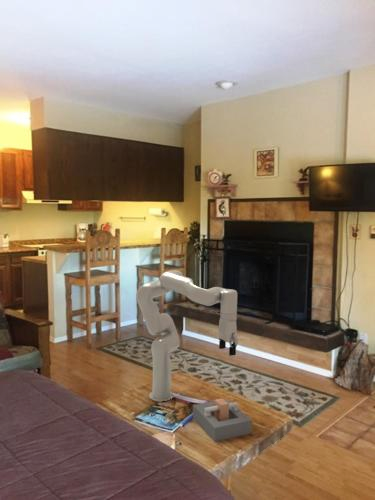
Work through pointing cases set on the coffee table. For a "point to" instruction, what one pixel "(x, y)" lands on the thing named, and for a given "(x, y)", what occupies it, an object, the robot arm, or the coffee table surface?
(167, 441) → the coffee table surface
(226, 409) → the clip
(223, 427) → the grey rectangular frame
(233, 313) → the robot arm
